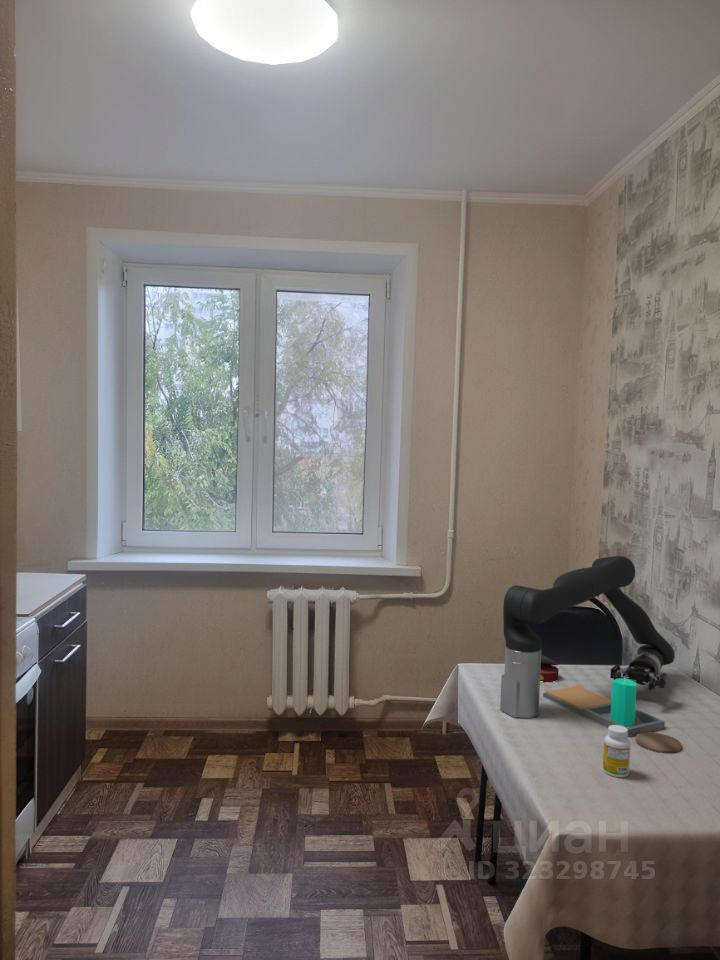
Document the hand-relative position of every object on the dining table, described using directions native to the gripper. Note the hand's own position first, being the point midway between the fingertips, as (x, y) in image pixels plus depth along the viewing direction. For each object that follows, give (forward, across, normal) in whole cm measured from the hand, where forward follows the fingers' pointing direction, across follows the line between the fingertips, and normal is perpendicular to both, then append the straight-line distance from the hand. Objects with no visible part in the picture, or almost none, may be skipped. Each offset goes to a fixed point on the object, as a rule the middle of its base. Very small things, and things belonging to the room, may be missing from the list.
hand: (633, 683), depth 191 cm
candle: (+11, 0, +7) cm, 13 cm away
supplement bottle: (+42, +5, +7) cm, 43 cm away
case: (+7, -7, +7) cm, 12 cm away
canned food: (-11, -29, +8) cm, 32 cm away
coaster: (+20, +10, +7) cm, 24 cm away
